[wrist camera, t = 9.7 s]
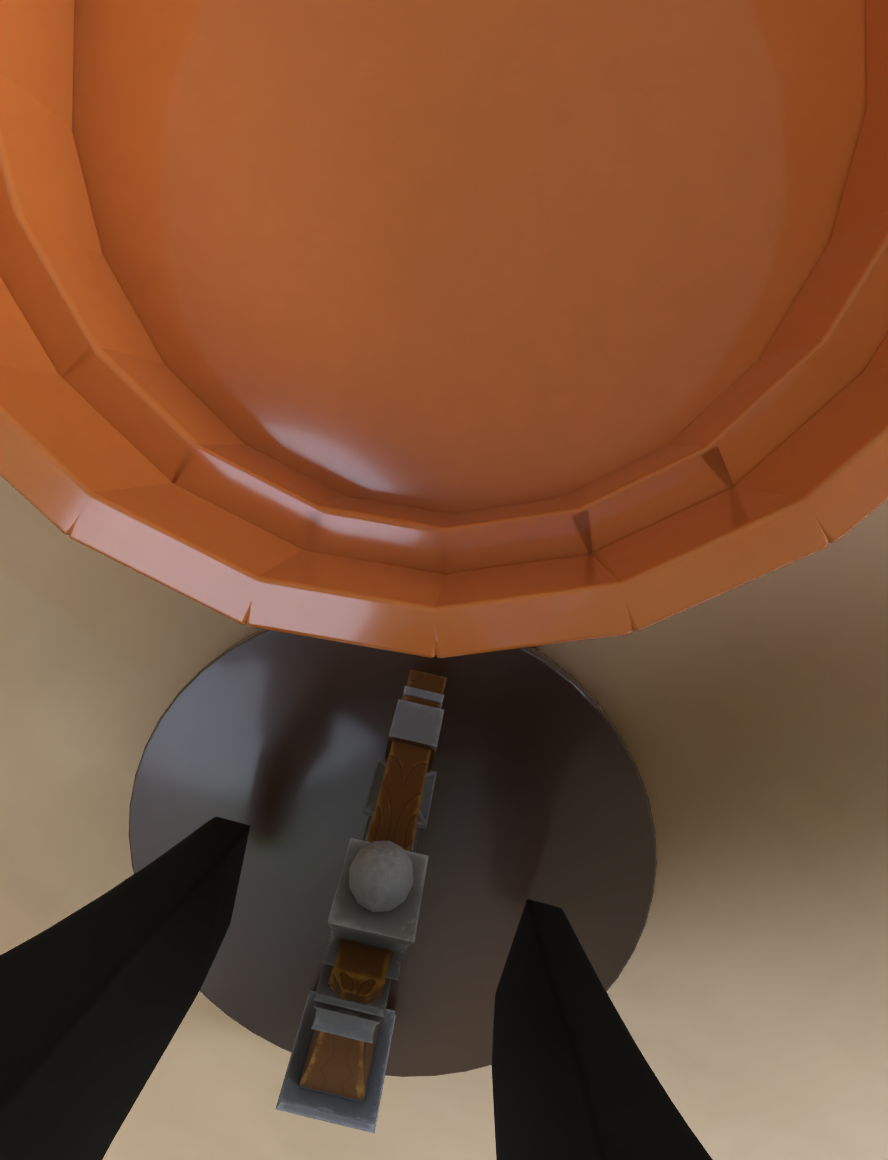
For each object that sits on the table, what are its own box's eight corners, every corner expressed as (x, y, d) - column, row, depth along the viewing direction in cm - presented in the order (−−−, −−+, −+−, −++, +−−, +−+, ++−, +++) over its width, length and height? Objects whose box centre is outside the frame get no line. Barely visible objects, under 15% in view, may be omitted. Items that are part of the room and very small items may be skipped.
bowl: (1160, -149, 8) (1826, -731, 4) (617, 707, 11) (693, 853, 7) (212, -729, 7) (-103, -2091, 3) (-87, 347, 10) (-435, 286, 6)
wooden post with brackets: (494, 644, 9) (458, 966, 6) (417, 890, 14) (372, 1148, 11) (380, 618, 9) (273, 923, 6) (342, 872, 14) (271, 1125, 11)
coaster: (757, 760, 11) (767, 772, 11) (494, 1128, 13) (495, 1149, 13) (257, 503, 10) (248, 506, 10) (72, 929, 13) (58, 945, 12)
